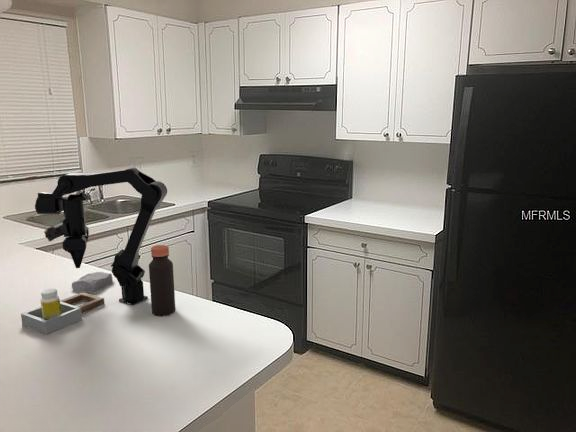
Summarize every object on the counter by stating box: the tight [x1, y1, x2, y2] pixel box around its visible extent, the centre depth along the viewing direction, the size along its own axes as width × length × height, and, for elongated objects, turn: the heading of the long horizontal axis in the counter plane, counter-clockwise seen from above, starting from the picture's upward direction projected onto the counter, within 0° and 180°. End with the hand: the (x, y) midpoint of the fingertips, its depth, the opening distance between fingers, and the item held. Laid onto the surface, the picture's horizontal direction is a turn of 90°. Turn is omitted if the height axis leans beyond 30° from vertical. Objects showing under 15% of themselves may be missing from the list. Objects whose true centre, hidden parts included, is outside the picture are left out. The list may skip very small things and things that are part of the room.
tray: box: [20, 301, 83, 335], centre depth 134 cm, size 11×11×4 cm
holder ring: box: [60, 292, 105, 314], centre depth 145 cm, size 10×10×2 cm
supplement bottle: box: [40, 288, 61, 320], centre depth 133 cm, size 5×5×8 cm
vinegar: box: [148, 244, 176, 317], centre depth 139 cm, size 7×7×20 cm
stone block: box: [71, 271, 113, 293], centre depth 162 cm, size 12×5×10 cm
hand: (79, 263), depth 148 cm, fingers open, 9 cm apart
